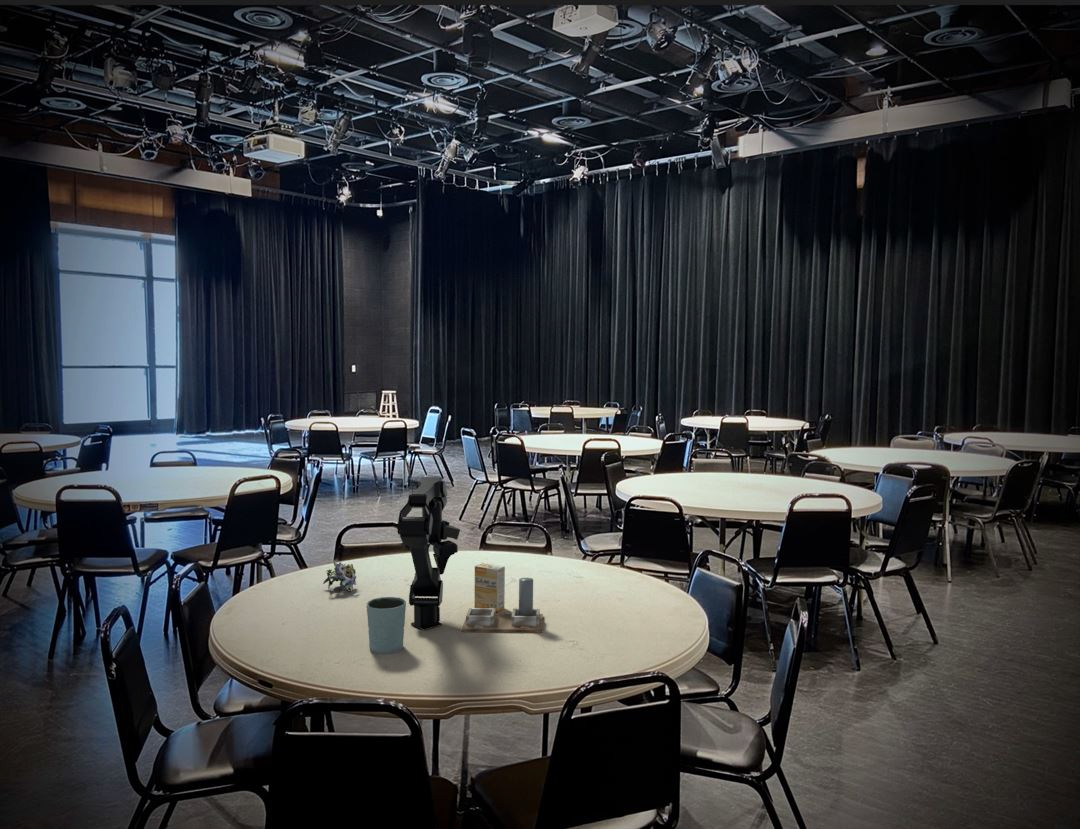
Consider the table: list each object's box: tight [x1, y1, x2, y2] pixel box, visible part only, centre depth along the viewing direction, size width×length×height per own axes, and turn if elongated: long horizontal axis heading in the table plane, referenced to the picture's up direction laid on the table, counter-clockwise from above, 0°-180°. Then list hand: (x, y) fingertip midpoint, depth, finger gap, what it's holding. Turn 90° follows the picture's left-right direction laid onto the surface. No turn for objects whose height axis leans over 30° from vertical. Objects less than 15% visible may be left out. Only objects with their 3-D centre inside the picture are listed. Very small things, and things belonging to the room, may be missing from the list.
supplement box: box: [473, 562, 506, 613], centre depth 237 cm, size 8×5×13 cm, turn 62°
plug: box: [518, 577, 534, 616], centre depth 223 cm, size 4×4×12 cm
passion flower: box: [323, 560, 358, 592], centre depth 258 cm, size 11×11×12 cm
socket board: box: [461, 607, 544, 634], centre depth 223 cm, size 22×14×3 cm, turn 88°
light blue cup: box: [366, 596, 407, 655], centre depth 204 cm, size 10×10×12 cm
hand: (433, 569), depth 233 cm, fingers open, 9 cm apart
